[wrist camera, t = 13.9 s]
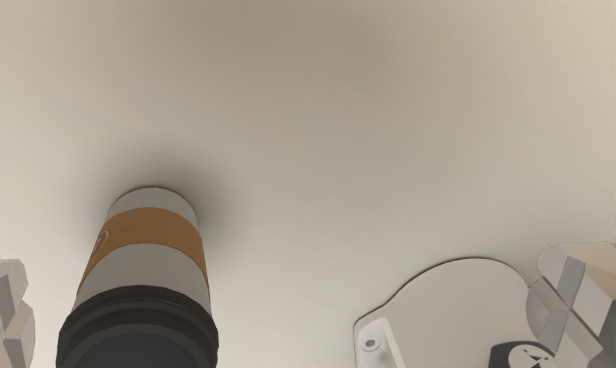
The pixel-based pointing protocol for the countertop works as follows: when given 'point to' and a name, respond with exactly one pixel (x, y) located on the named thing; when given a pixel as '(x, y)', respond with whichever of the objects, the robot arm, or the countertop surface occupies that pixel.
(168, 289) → the coffee cup
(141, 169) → the countertop surface
